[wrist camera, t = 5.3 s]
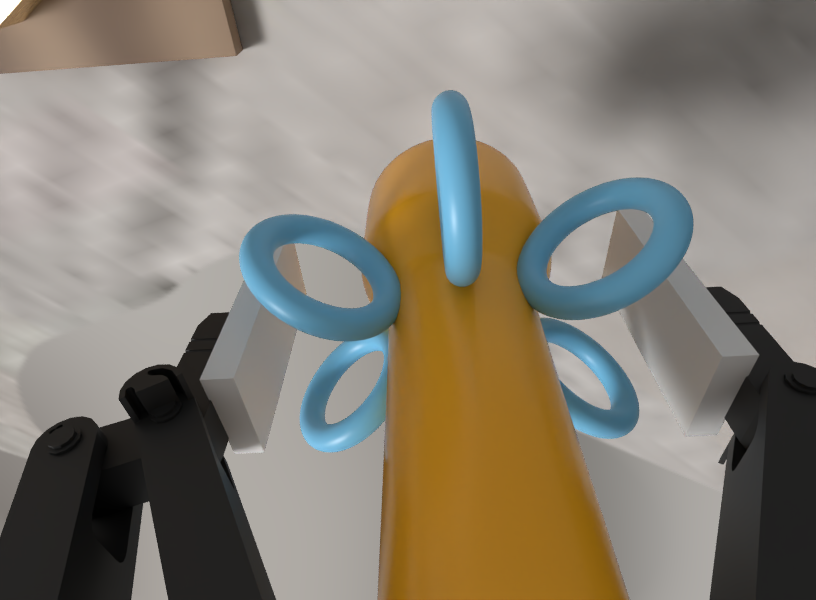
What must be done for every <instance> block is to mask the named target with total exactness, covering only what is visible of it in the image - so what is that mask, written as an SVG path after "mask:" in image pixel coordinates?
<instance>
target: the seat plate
mask: <svg viewBox="0 0 816 600" xmlns="http://www.w3.org/2000/svg"><path fill="white" fill-rule="evenodd" d="M241 51H242V46H241V42H240V38H239V34H238V30H237V26H236V22H235V18H234V14H233V10H232V6H231V2H230V0H43V1H42V2H41V3H40V4H39V5H38V6H37V7H36V8H35V9H34V11H33V12H32V13H31V14H30V15H29V16H28V17H27V18H26V19H25V21H23V22H20V23H17V24H14V25H10V26H7V27H4V28H1V29H0V74H3V73H16V72H29V71H42V70H56V69H69V68H82V67H95V66H109V65H122V64H135V63H148V62H162V61H175V60H188V59H201V58H215V57H228V56H237V55H238V54H239V53H240V52H241Z"/></svg>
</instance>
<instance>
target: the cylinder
mask: <svg viewBox="0 0 816 600" xmlns="http://www.w3.org/2000/svg"><path fill="white" fill-rule="evenodd" d="M432 131H433V140H429V141H426V142H423V143H420V144H418V145H416V146H413V147H411V148H409V149H408V150H406V151H405V152H403V153H402V154H400V155H399V156H397V157H396V158H395V159H394V160H393V161H392V162H391V163H390V164H389V165H388V166H387V167H386V168H385V169H384V171H383V172H382V173H381V175H380V176H379V178H378V180H377V181H376V183H375V186H374V188H373V191H372V194H371V197H370V202H369V207H368V214H367V222H366V229H365V237H364V238H362V237H361V236H359V235H358V234H356V233H354V232H353V231H351V230H349V229H347V228H345V227H343V226H341V225H339V224H336V223H334V222H331V221H328V220H325V219H321V218H317V217H313V216H307V215H297V214H289V215H279V216H275V217H271V218H268V219H265V220H263V221H261V222H260V223H258V224H257V225H255V226H254V227H253V228H252V229H251V230H250V231H249V232H248V233H247V234H246V236H245V238H244V240H243V242H242V244H241V248H240V254H239V261H240V268H241V272H242V275H243V278H244V280H245V282H246V284H247V286H248V288H249V289H250V291H251V292H252V294H253V295H254V296H255V298H256V299H257V300H258V301H259V302H260V303H261V304H262V305H263V306H264V307H265V308H266V309H267V310H268V311H269V312H270V313H272V314H273V315H274V316H276V317H277V318H278V319H280V320H281V321H283V322H285V323H286V324H288V325H290V326H291V327H293V328H295V329H297V330H300V331H302V332H304V333H307V334H310V335H313V336H316V337H319V338H323V339H328V340H334V341H344V342H343V343H342V344H340V345H339V346H338V347H337V348H336V349H335V350H334V351H333V352H332V353H331V354H330V355H329V356H328V357H327V359H326V360H325V361H324V362H323V364H322V365H321V366H320V368H319V369H318V370H317V372H316V373H315V375H314V377H313V378H312V380H311V382H310V384H309V386H308V388H307V390H306V393H305V396H304V398H303V401H302V405H301V411H300V427H301V431H302V434H303V437H304V438H305V440H306V441H307V443H308V444H310V446H312V447H313V448H315V449H317V450H319V451H323V452H338V451H343V450H346V449H348V448H351V447H353V446H355V445H357V444H358V443H360V442H361V441H363V440H364V439H366V438H367V437H368V436H370V435H371V434H372V433H373V432H374V431H375V430H376V429H377V428H378V427H379V426H380V425H381V424H382V423H383V422H384V421H385V441H384V442H385V443H384V464H383V486H382V509H381V510H382V511H381V532H380V554H379V576H378V578H379V579H378V600H630V599H629V596H628V593H627V589H626V586H625V583H624V580H623V577H622V574H621V571H620V568H619V565H618V562H617V558H616V555H615V552H614V549H613V546H612V543H611V540H610V537H609V534H608V531H607V528H606V524H605V521H604V518H603V515H602V512H601V509H600V506H599V503H598V500H597V497H596V493H595V491H594V487H593V484H592V481H591V478H590V475H589V472H588V469H587V465H586V462H585V459H584V456H583V453H582V450H581V447H580V444H579V441H578V437H577V434H576V431H575V429H577V430H579V431H581V432H583V433H586V434H588V435H591V436H595V437H599V438H606V439H613V438H619V437H622V436H624V435H626V434H628V433H629V432H630V431H632V430H633V428H634V427H635V425H636V424H637V421H638V418H639V403H638V399H637V395H636V392H635V390H634V388H633V386H632V384H631V382H630V380H629V378H628V377H627V375H626V374H625V372H624V371H623V369H622V368H621V367H620V365H619V364H618V363H617V362H616V361H615V359H614V358H613V357H612V356H611V355H610V354H609V353H608V352H607V351H606V350H605V349H604V348H603V347H602V346H601V345H599V344H598V343H597V342H596V341H595V340H593V339H592V338H591V337H589V336H588V335H587V334H585V333H584V332H582V331H580V330H579V329H577V328H575V327H573V326H571V325H569V324H567V323H565V322H562V321H559V320H556V319H551V318H540V317H539V314H538V312H540V313H542V314H544V315H546V316H549V317H553V318H557V319H564V320H583V319H590V318H596V317H600V316H604V315H607V314H610V313H613V312H616V311H618V310H621V309H623V308H625V307H627V306H629V305H631V304H633V303H635V302H637V301H638V300H640V299H642V298H643V297H645V296H646V295H648V294H649V293H650V292H652V291H653V290H654V289H656V288H657V287H658V286H659V285H660V284H662V283H663V282H664V281H665V280H666V279H667V278H668V277H669V276H670V275H671V273H672V272H673V271H674V270H675V269H676V267H677V266H678V265H679V263H680V262H681V260H682V259H683V257H684V255H685V253H686V251H687V249H688V247H689V244H690V241H691V238H692V233H693V214H692V210H691V208H690V205H689V203H688V201H687V200H686V198H685V197H684V196H683V195H682V193H680V192H679V191H678V190H677V189H676V188H674V187H673V186H671V185H669V184H667V183H665V182H662V181H659V180H655V179H650V178H625V179H619V180H614V181H610V182H606V183H603V184H600V185H597V186H595V187H592V188H590V189H588V190H585V191H583V192H581V193H579V194H578V195H576V196H574V197H572V198H571V199H569V200H567V201H566V202H564V203H563V204H561V205H560V206H559V207H557V208H556V209H555V210H554V211H552V212H551V213H550V214H549V215H548V216H547V217H546V218H545V219H544V220H543V221H541V219H540V216H539V214H538V212H537V209H536V207H535V205H534V202H533V200H532V198H531V195H530V193H529V191H528V189H527V186H526V184H525V182H524V180H523V178H522V176H521V174H520V173H519V171H518V169H517V168H516V167H515V165H514V164H513V163H512V162H511V161H510V160H509V159H508V158H507V157H506V156H505V155H504V154H502V153H501V152H499V151H498V150H496V149H495V148H493V147H491V146H489V145H487V144H484V143H482V142H479V141H476V139H475V131H474V125H473V120H472V115H471V111H470V107H469V104H468V102H467V100H466V99H465V97H464V96H463V95H462V94H461V93H459V92H457V91H453V90H448V91H444V92H442V93H440V94H439V95H438V96H437V97H436V98H435V100H434V102H433V104H432ZM625 209H635V210H641V211H644V212H646V213H648V214H649V215H650V216H651V217H652V219H653V230H652V233H651V236H650V238H649V240H648V241H647V243H646V244H645V246H644V247H643V248H642V250H641V251H640V252H639V253H638V254H637V255H636V256H635V257H634V258H633V259H632V260H631V261H629V262H628V263H627V264H626V265H624V266H623V267H622V268H620V269H619V270H617V271H615V272H614V273H612V274H610V275H608V276H606V277H604V278H602V279H600V280H597V281H594V282H591V283H588V284H584V285H579V286H559V285H556V284H554V283H552V282H551V281H550V280H549V277H550V272H551V255H552V253H553V252H554V250H555V249H556V248H557V246H558V245H559V244H560V243H561V242H562V241H563V240H564V239H565V238H566V237H567V236H568V235H569V234H570V233H571V232H573V231H574V230H575V229H577V228H578V227H579V226H581V225H583V224H584V223H586V222H588V221H590V220H591V219H594V218H596V217H598V216H600V215H603V214H606V213H609V212H613V211H618V210H625ZM293 243H302V244H310V245H315V246H318V247H322V248H325V249H327V250H330V251H332V252H334V253H336V254H338V255H340V256H342V257H343V258H345V259H346V260H348V261H349V262H351V263H352V264H353V265H354V266H356V267H357V268H358V269H359V270H360V271H361V272H362V279H363V284H364V288H365V291H366V294H367V296H368V298H369V301H370V302H371V303H370V304H368V305H367V306H364V307H361V308H340V307H335V306H331V305H328V304H325V303H322V302H319V301H317V300H314V299H313V298H311V297H309V296H307V295H305V294H304V293H302V292H300V291H299V290H298V289H296V288H295V287H294V286H292V285H291V284H290V283H289V282H288V281H287V280H286V279H285V278H284V277H283V276H282V275H281V273H280V272H279V270H278V269H277V267H276V265H275V262H274V258H273V255H274V252H275V250H276V249H277V248H279V247H281V246H283V245H286V244H293ZM547 342H550V343H553V344H556V345H559V346H561V347H563V348H565V349H566V350H568V351H570V352H571V353H573V354H574V355H575V356H577V357H578V358H579V359H580V360H582V361H583V362H584V363H585V364H586V365H587V366H588V367H589V368H590V369H591V370H592V371H593V372H594V373H595V375H596V376H597V377H598V378H599V380H600V381H601V383H602V384H603V386H604V388H605V389H606V391H607V393H608V396H609V399H610V402H611V409H610V410H604V409H600V408H597V407H595V406H593V405H591V404H589V403H587V402H586V401H584V400H582V399H581V398H580V397H578V396H577V395H575V394H574V393H573V392H572V391H571V390H569V389H568V388H567V387H566V386H565V385H564V384H563V383H562V382H561V381H560V380H559V378H558V375H557V372H556V369H555V365H554V362H553V359H552V356H551V353H550V349H549V346H548V343H547ZM373 351H382V352H383V354H384V364H383V369H382V372H381V375H380V377H379V379H378V381H377V383H376V385H375V387H374V389H373V390H372V392H371V393H370V395H369V396H368V397H367V399H366V400H365V401H364V402H363V404H362V405H361V406H360V407H359V408H358V409H357V410H356V411H354V412H353V413H352V414H351V415H350V416H348V417H347V418H345V419H344V420H342V421H340V422H338V423H335V424H327V423H326V422H325V408H326V405H327V401H328V399H329V396H330V394H331V392H332V390H333V388H334V386H335V385H336V383H337V382H338V380H339V379H340V378H341V376H342V375H343V374H344V372H345V371H346V370H347V369H348V368H349V367H350V366H351V365H352V364H353V363H354V362H356V361H357V360H358V359H360V358H361V357H363V356H364V355H366V354H368V353H371V352H373Z"/></svg>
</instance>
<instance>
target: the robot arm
mask: <svg viewBox="0 0 816 600" xmlns="http://www.w3.org/2000/svg"><path fill="white" fill-rule="evenodd" d="M652 230H653V221H652V219H651V218H650V217H649V215H648V214H647V213H646V212H644V211H641V210H635V209H625V210H618V211H617V212H616V217H615V221H614V226H613V230H612V235H611V239H610V244H609V248H608V253H607V257H606V262H605V266H604V271H603V275H602V278H604V277H606V276H608V275H610V274H612V273H614V272H615V271H617V270H619V269H620V268H622V267H623V266H624V265H626V264H627V263H628V262H629V261H631V260H632V259H633V258H634V257H635V256H636V255H637V254H638V253H639V252H640V251H641V250H642V248H643V247H644V246H645V244H646V243H647V241H648V240H649V238H650V236H651V233H652ZM273 258H274V262H275V265H276V267H277V269H278V270H279V272H280V273H281V275H282V276H283V277H284V278H285V279H286V280H287V281H288V282H289V283H290V284H291V285H292V286H294V287H295V288H296V289H298V290H299V291H300V292H302V293H304V294H305V295H306V290H305V287H304V282H303V278H302V273H301V269H300V265H299V261H298V257H297V253H296V249H295V245H294V243H293V244H286V245H283V246H281V247H279V248H277V249H276V250H275V252H274V255H273ZM619 312H620V314H621V316H622V318H623V320H624V322H625V324H626V326H627V327H628V329H629V331H630V333H631V335H632V337H633V339H634V341H635V343H636V344H637V346H638V348H639V350H640V352H641V354H642V356H643V358H644V360H645V361H646V363H647V365H648V367H649V369H650V371H651V373H652V375H653V377H654V378H655V380H656V382H657V384H658V386H659V388H660V390H661V392H662V394H663V396H664V397H665V399H666V401H667V403H668V405H669V407H670V409H671V411H672V413H673V414H674V416H675V418H676V420H677V422H678V424H679V426H680V428H681V430H682V431H683V433H684V435H685V436H708V435H717V434H718V432H719V430H720V428H721V427H722V425H723V423H724V421H725V419H726V421H727V422H728V424H729V426H730V427H731V429H732V430H733V432H734V435H733V436H732V438H731V440H730V442H729V443H728V445H727V447H726V449H725V451H724V452H723V454H722V456H721V458H720V460H719V462H718V463H720V464H724V463H725V461H726V459H727V462H726V470H725V478H724V486H723V494H722V503H721V511H720V519H719V527H718V536H717V543H716V552H715V559H714V568H713V576H712V584H711V592H710V600H816V368H814V367H812V366H809V365H807V364H803V363H797V362H793V360H792V359H791V358H790V357H789V356H788V355H787V353H786V352H785V351H784V350H783V349H782V348H781V347H780V345H779V344H778V343H777V342H776V341H775V340H774V338H773V337H772V336H771V335H770V334H769V333H768V331H767V330H766V329H765V328H764V327H763V326H762V325H760V324H759V321H758V320H757V319H756V317H755V316H754V315H753V314H750V310H749V309H748V308H747V307H746V306H745V305H744V303H743V302H742V301H741V300H740V299H739V298H738V297H736V296H735V295H733V294H732V293H730V292H729V291H727V290H725V289H724V288H722V287H705V286H704V285H703V283H702V282H701V281H700V280H699V278H698V277H697V276H696V275H695V273H694V272H693V271H692V270H691V268H690V267H689V266H688V265H687V263H686V262H685V261H684V260H683V259H682V260H681V262H680V263H679V265H678V266H677V267H676V269H675V270H674V271H673V272H672V273H671V275H670V276H669V277H668V278H667V279H666V280H665V281H664V282H663V283H662V284H660V285H659V286H658V287H657V288H656V289H654V290H653V291H652V292H650V293H649V294H648V295H646V296H645V297H643V298H642V299H640V300H638V301H637V302H635V303H633V304H631V305H629V306H627V307H625V308H623V309H621V310H619ZM296 331H297V329H295V328H293V327H291V326H290V325H288V324H286V323H285V322H283V321H281V320H280V319H278V318H277V317H276V316H274V315H273V314H272V313H270V312H269V311H268V310H267V309H266V308H265V307H264V306H263V305H262V304H261V303H260V302H259V301H258V300H257V299H256V298H255V296H254V295H253V294H252V292H251V291H250V289H249V288H248V286H247V284H246V282H245V280H244V281H243V284H242V286H241V288H240V290H239V292H238V295H237V297H236V299H235V302H234V304H233V306H232V308H231V310H230V312H227V313H211V314H210V315H209V316H208V317H207V318H206V319H205V320H204V321H202V322H201V323H200V324H199V325H198V327H197V329H196V331H195V333H194V334H193V336H192V338H191V342H189V344H188V346H187V348H186V353H184V354H183V356H182V358H181V360H180V362H179V364H178V366H177V367H175V366H172V365H156V366H152V367H148V368H145V369H144V370H142V371H140V372H138V373H136V374H135V375H133V376H132V377H131V378H130V379H128V380H127V381H126V382H125V384H124V385H123V387H122V388H121V390H120V394H119V401H120V402H121V404H122V405H123V407H124V408H125V410H126V411H127V413H128V414H129V416H130V417H131V418H130V419H127V420H124V421H120V422H117V423H114V424H110V425H107V426H103V427H100V428H99V427H98V425H97V424H96V423H95V422H94V421H93V420H92V419H91V418H87V417H74V418H69V419H67V420H65V421H62V422H59V423H57V424H56V425H54V426H52V427H51V428H49V429H48V430H46V431H45V432H44V433H43V434H42V435H41V436H40V437H39V438H38V439H37V440H36V442H35V444H34V445H33V447H32V449H31V451H30V454H29V457H28V460H27V463H26V465H25V468H24V471H23V474H22V477H21V480H20V482H19V485H18V488H17V491H16V494H15V497H14V499H13V502H12V505H11V508H10V511H9V514H8V516H7V519H6V522H5V525H4V528H3V531H2V533H1V537H0V600H131V596H132V588H133V580H134V572H135V564H136V556H137V548H138V540H139V532H140V524H141V515H142V508H143V503H145V502H148V501H149V502H150V507H151V512H152V517H153V523H154V528H155V533H156V538H157V543H158V548H159V553H160V559H161V564H162V569H163V574H164V580H165V585H166V590H167V595H168V600H276V598H275V595H274V592H273V590H272V587H271V584H270V582H269V579H268V576H267V573H266V570H265V567H264V565H263V562H262V559H261V556H260V553H259V550H258V548H257V545H256V542H255V539H254V536H253V534H252V531H251V528H250V525H249V522H248V520H247V517H246V514H245V511H244V509H243V506H242V503H241V500H240V497H239V494H238V492H237V489H236V486H235V483H234V480H233V478H232V475H231V472H230V469H229V467H228V464H227V462H226V459H225V458H224V456H223V455H224V451H225V449H226V446H227V443H228V441H229V443H230V445H231V447H232V449H233V451H234V453H235V454H236V453H263V452H264V451H265V448H266V444H267V440H268V436H269V432H270V429H271V425H272V421H273V418H274V414H275V410H276V406H277V403H278V399H279V395H280V391H281V388H282V384H283V380H284V376H285V372H286V369H287V365H288V361H289V358H290V354H291V350H292V346H293V342H294V339H295V335H296Z"/></svg>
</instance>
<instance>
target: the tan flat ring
mask: <svg viewBox="0 0 816 600" xmlns="http://www.w3.org/2000/svg"><path fill="white" fill-rule="evenodd" d="M42 1H43V0H0V29H1V28H4V27H7V26H10V25H14V24H17V23H20V22H23V21H25V19H26V18H27V17H28V16H29V15H30V14H31V13H32V12H33V11H34V9H35V8H36V7H37V6H38V5H39V4H40V3H41V2H42Z"/></svg>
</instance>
